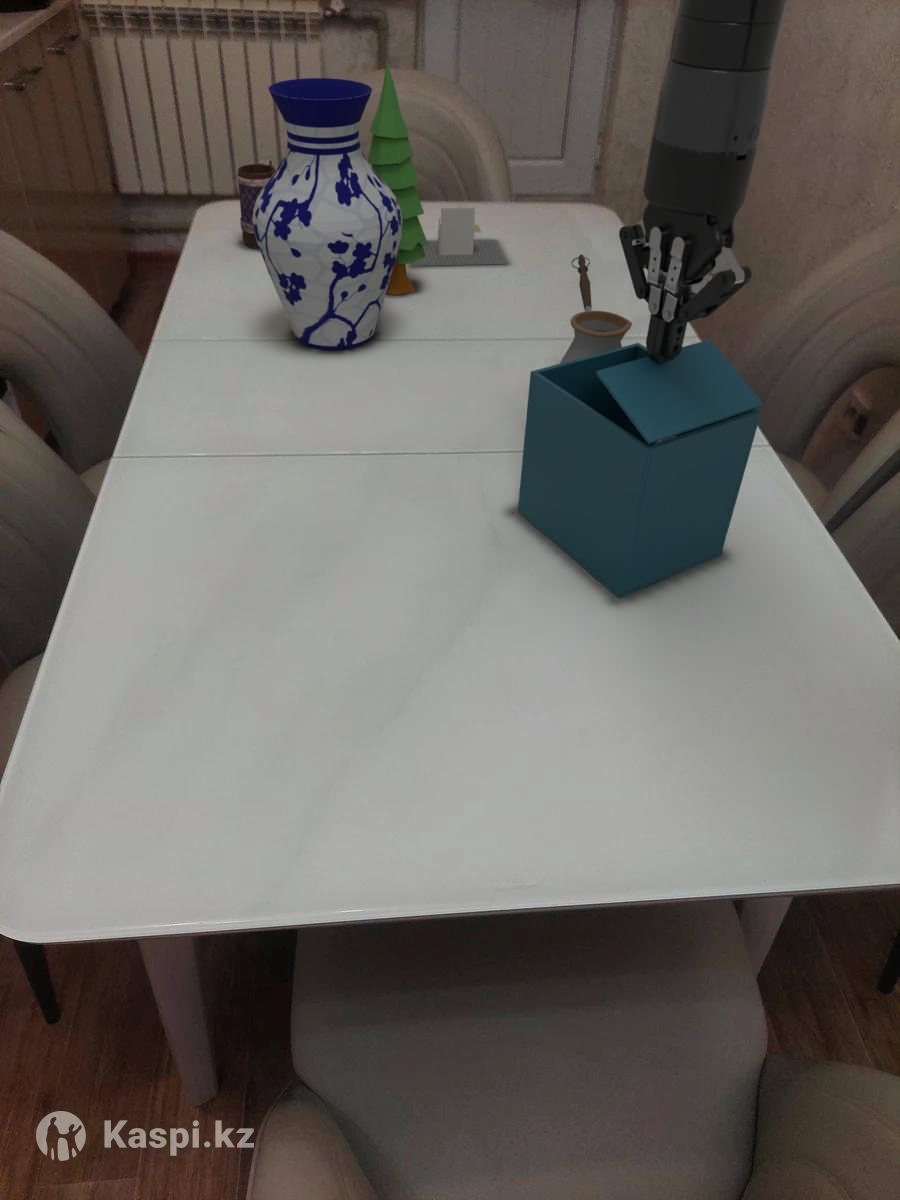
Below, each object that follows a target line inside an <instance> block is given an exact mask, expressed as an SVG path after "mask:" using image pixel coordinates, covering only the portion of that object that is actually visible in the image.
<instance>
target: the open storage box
mask: <svg viewBox="0 0 900 1200" xmlns="http://www.w3.org/2000/svg"><path fill="white" fill-rule="evenodd" d="M645 357H648V356H647V347H646V345H645V346H644V345H643V344H641V343H640V342H636V343H632V344H628V345H625V346H622V347H621V348H617V349H613V350H609V351H606V352H602V353H598V354H594V355H591V356H587V357H583V358H579V359H576V360H572V361H568V362H564V363H561V364H560V363H557V364H554V365H550V366H546V367H543V368H538V369H535V370H531V371H530V373H529V374H530V375H529V386H528V396H527V405H526V406H527V407H526V416H525V417H526V418H525V428H524V437H523V438H524V439H523V449H522V458H521V459H522V461H521V470H520V471H521V472H520V473H521V474H520V483H519V493H518V503H517V512H518V513H519V514H520V515H521V516H522V517H524V518H525V520H527V521H528V522H529V523H531V524H532V525H533V526H534V527H535V528H536V529H538V530H539V531H540V532H541V533H542V534H543V535H544V536H546V537H547V538H548V539H549V540H550V541H552V542H553V543H554V544H555V545H556V546H558V547H559V548H560V549H561V550H562V551H564V553H566V554H567V555H568V556H569V557H570V558H572V560H574V561H575V562H576V563H577V564H578V565H580V566H581V567H582V568H583V569H584V570H586V572H588V573H589V574H590V575H591V576H592V577H594V578H595V579H596V580H597V581H598V582H599V583H601V584H602V585H603V586H604V587H605V588H606V589H608V590H609V592H611V593H613V594H614V595H615V597H617V598H619V599H621V598H623V597H626V596H627V595H629V594H632V593H635V592H637V591H639V590H641V589H643V588H646V587H648V586H651V585H654V584H655V583H658V582H660V581H662V580H665V579H668V578H670V577H672V576H674V575H677V574H679V573H682V572H684V571H686V570H688V569H691V568H693V567H696V566H698V565H701V564H703V563H705V562H708V561H710V560H712V559H715V558H717V557H720V556H721V555H722V553H723V549H724V547H725V542H726V540H727V535H728V532H729V529H730V525H731V521H732V518H733V515H734V510H735V507H736V504H737V499H738V496H739V494H740V489H741V485H742V482H743V480H744V479H743V478H744V475H745V472H746V468H747V465H748V461H749V458H750V455H751V450H752V447H753V443H754V440H755V436H756V432H757V430H758V426H759V422H760V418H761V415H762V411H761V410H758V408H755V409H752V410H749V411H746V412H743V413H740V414H737V415H734V416H731V417H728V418H725V419H722V420H719V421H716V422H713V423H710V424H707V425H704V426H701V427H698V428H695V429H692V430H689V431H686V432H683V433H680V434H677V435H674V436H677V437H674V438H671V439H668V440H665V441H662V442H659V443H656V442H658V441H656V442H653V443H650V444H648V443H647V442H646V440H645V439H644V437H643V436H642V435H641V433H640V432H639V431H638V429H637V428H636V427H635V425H634V424H633V423H632V421H631V420H630V419H629V417H628V416H627V415H626V413H625V412H624V411H623V409H622V408H621V407H620V405H619V404H618V403H617V401H616V400H615V399H614V397H613V396H612V395H611V393H610V392H609V391H608V389H607V388H606V387H605V385H604V384H603V382H602V381H601V380H600V378H599V377H598V376H597V374H596V372H597V371H598V370H602V369H605V368H609V367H613V366H616V365H620V364H623V363H627V362H631V361H634V360H638V359H641V358H645ZM655 443H656V444H655Z"/></svg>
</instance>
